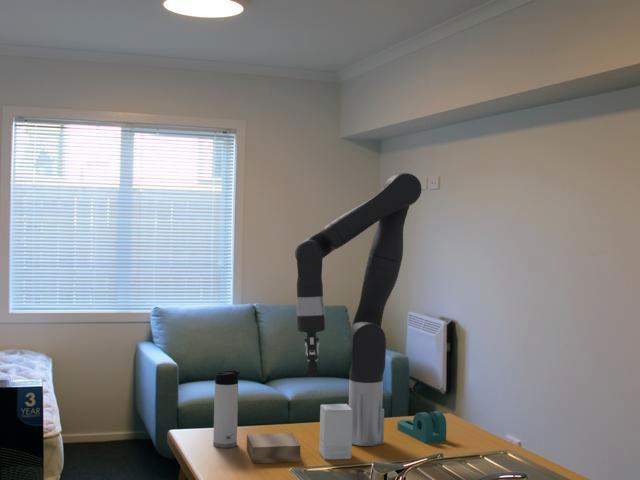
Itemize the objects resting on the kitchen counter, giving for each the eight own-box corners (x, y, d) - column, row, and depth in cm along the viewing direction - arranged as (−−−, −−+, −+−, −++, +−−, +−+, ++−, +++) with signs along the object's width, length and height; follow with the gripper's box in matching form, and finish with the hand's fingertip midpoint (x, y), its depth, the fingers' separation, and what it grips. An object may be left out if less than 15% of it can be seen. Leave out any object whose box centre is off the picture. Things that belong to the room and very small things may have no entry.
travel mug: (233, 449, 198) (235, 373, 198) (209, 447, 200) (211, 371, 200) (241, 442, 205) (242, 369, 204) (217, 440, 206) (219, 367, 206)
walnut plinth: (291, 447, 201) (291, 432, 201) (300, 461, 189) (300, 445, 189) (246, 449, 198) (246, 434, 198) (252, 463, 187) (252, 447, 187)
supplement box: (352, 459, 192) (353, 409, 192) (323, 460, 191) (324, 410, 191) (346, 451, 200) (347, 403, 199) (318, 451, 198) (319, 403, 198)
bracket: (446, 442, 211) (446, 414, 211) (425, 444, 209) (426, 416, 208) (412, 426, 228) (413, 400, 228) (393, 428, 225) (393, 401, 225)
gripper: (325, 314, 197) (327, 376, 196) (324, 312, 212) (326, 370, 211) (296, 315, 197) (298, 378, 196) (297, 313, 211) (299, 371, 210)
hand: (313, 374), depth 203 cm, fingers open, 8 cm apart
